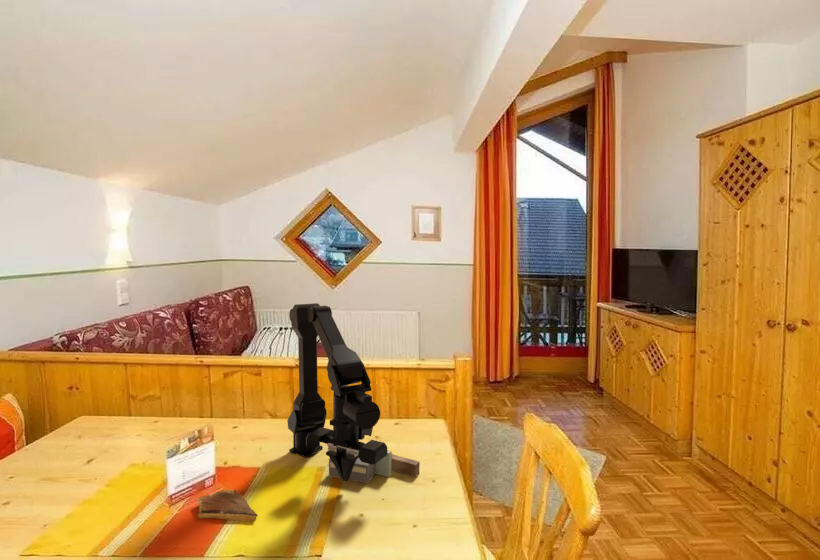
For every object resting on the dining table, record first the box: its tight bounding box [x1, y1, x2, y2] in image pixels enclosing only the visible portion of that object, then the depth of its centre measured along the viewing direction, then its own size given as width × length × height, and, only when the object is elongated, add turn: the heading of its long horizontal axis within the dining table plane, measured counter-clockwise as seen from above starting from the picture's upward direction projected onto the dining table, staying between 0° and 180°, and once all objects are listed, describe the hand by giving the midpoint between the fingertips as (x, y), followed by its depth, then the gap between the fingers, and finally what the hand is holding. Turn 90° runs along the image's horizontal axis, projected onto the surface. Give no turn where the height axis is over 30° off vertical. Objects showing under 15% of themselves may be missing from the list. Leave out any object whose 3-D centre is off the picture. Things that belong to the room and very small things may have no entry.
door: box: [375, 449, 393, 478], centre depth 116 cm, size 11×2×6 cm, turn 60°
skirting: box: [391, 453, 420, 478], centre depth 118 cm, size 18×2×3 cm, turn 61°
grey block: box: [328, 457, 376, 484], centre depth 113 cm, size 10×5×4 cm, turn 72°
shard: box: [196, 489, 258, 522], centre depth 96 cm, size 13×9×2 cm
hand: (345, 481), depth 106 cm, fingers closed
